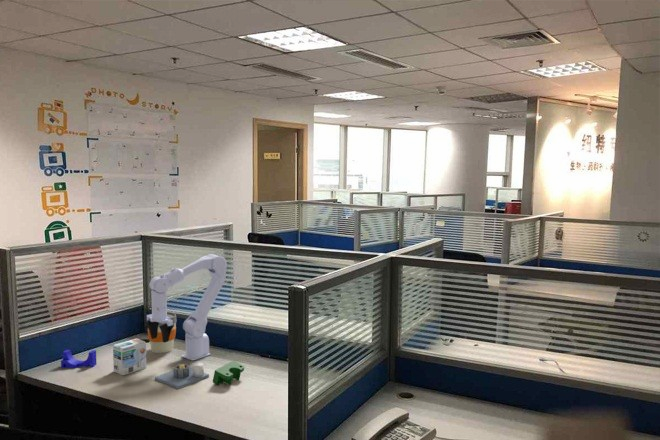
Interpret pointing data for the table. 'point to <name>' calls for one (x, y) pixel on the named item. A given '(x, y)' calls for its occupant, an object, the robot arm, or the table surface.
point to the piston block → (194, 376)
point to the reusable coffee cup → (158, 343)
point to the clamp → (228, 373)
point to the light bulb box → (129, 356)
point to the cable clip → (74, 363)
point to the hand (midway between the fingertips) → (159, 340)
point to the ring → (181, 372)
